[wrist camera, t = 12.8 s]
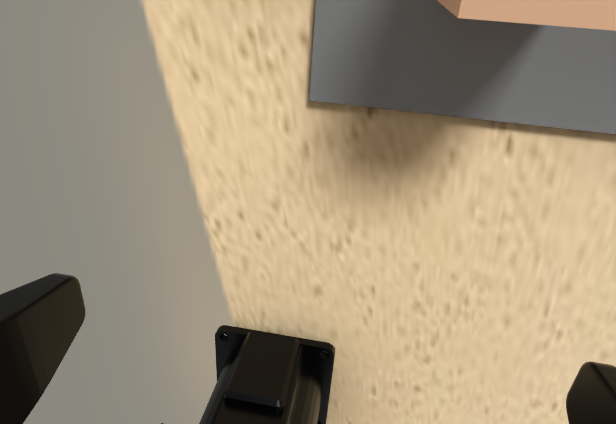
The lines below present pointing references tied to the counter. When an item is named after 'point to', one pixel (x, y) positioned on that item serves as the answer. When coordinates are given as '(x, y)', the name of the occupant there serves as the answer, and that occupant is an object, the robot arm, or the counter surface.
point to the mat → (462, 65)
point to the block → (539, 12)
